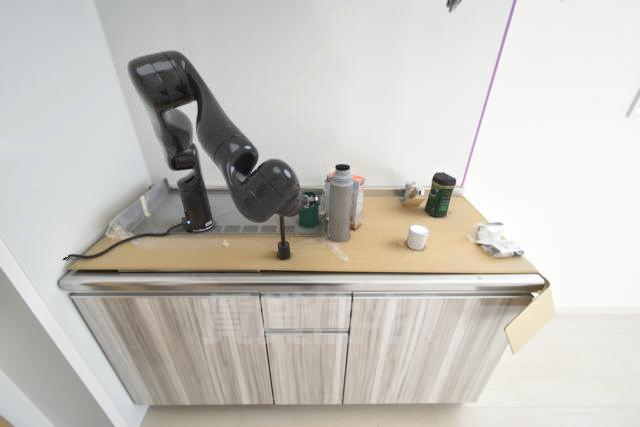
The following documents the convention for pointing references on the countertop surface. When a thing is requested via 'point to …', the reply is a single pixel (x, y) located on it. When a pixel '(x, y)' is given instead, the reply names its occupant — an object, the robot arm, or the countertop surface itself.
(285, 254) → the bottle brush
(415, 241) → the white ribbed cup
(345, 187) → the thermos bottle
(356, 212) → the cracker box
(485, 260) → the countertop surface
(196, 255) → the countertop surface
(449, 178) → the coffee jar
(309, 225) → the green bottle
